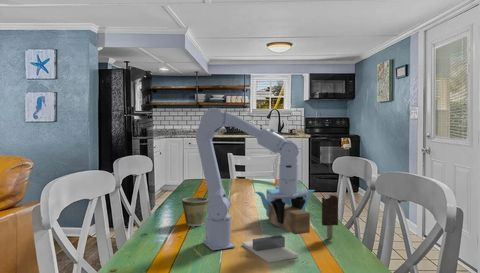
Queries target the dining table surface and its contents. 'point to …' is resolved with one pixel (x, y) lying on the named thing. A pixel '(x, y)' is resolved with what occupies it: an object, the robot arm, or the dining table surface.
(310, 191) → the teakettle
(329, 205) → the ice cream bar
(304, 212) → the walnut beam
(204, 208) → the plant pot
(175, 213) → the dining table surface
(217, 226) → the robot arm
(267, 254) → the fulcrum board
